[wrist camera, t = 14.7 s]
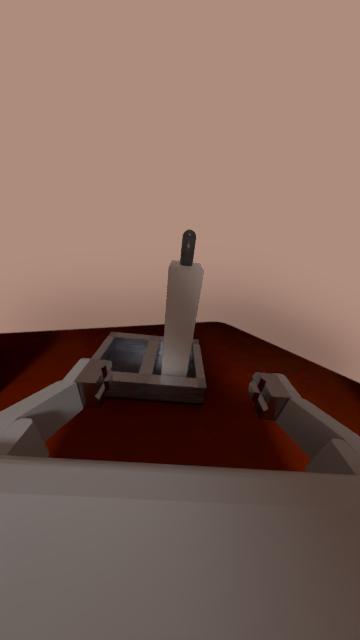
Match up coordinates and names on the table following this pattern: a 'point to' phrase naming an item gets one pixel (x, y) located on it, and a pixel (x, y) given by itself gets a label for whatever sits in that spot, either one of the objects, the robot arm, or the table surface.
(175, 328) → the plug
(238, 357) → the table surface
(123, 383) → the socket box
